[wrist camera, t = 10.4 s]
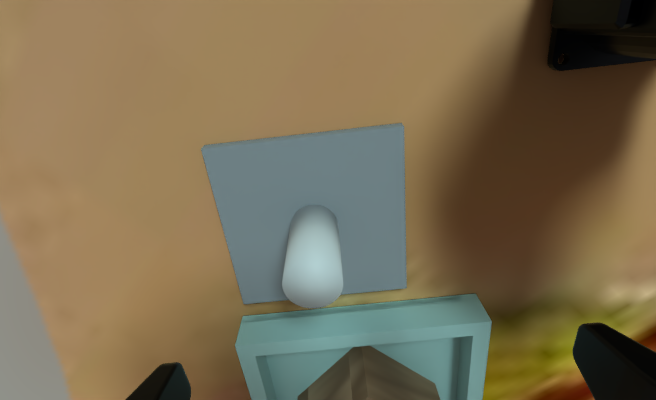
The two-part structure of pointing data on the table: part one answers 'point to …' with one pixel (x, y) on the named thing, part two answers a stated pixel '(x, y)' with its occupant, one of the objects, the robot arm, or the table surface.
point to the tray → (368, 344)
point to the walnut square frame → (369, 379)
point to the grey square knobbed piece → (313, 213)
